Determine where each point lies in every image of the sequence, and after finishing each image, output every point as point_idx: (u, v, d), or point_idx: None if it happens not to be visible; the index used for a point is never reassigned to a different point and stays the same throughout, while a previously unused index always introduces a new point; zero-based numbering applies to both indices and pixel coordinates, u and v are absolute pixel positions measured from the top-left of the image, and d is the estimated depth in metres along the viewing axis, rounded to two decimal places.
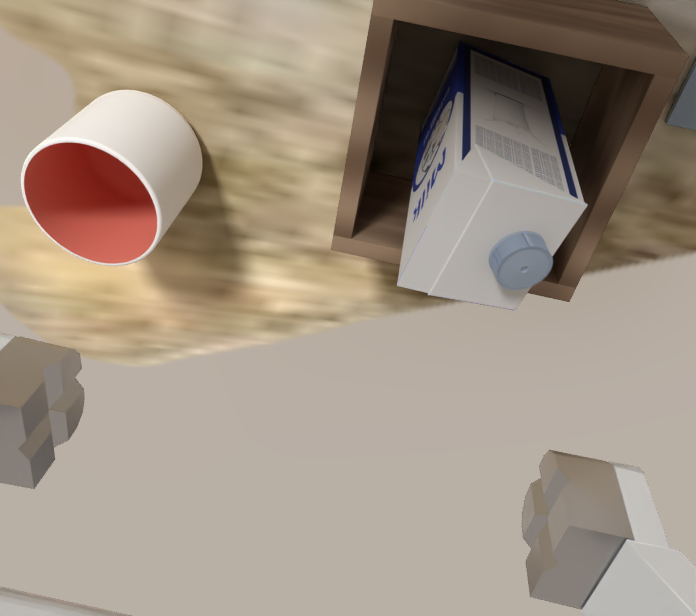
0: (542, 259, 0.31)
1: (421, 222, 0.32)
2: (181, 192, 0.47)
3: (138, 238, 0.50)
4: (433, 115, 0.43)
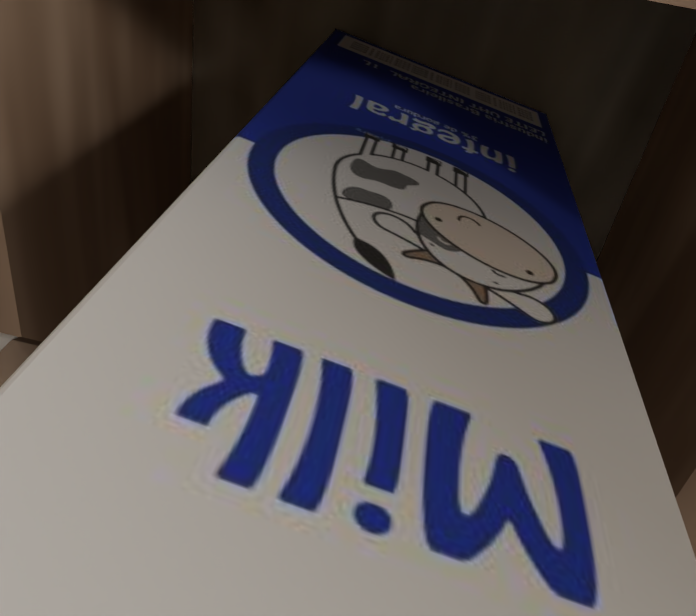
0: None
1: None
2: None
3: None
4: (416, 104, 0.16)
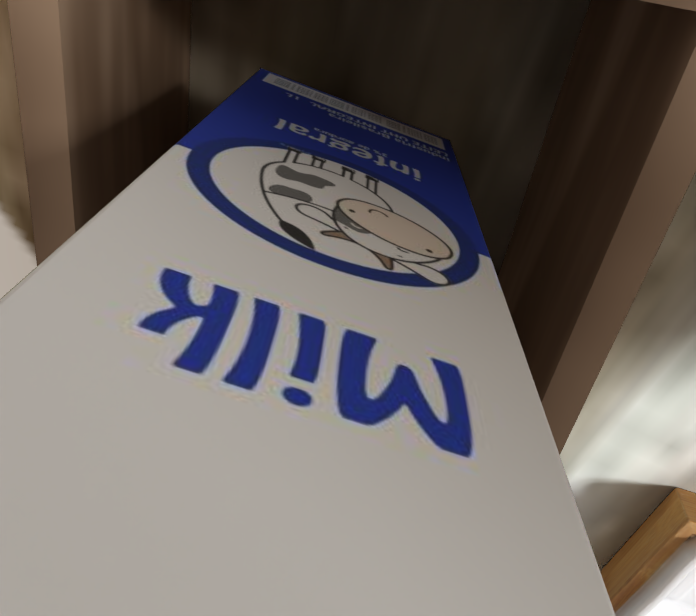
0: None
1: (220, 515, 0.05)
2: None
3: None
4: (333, 127, 0.18)
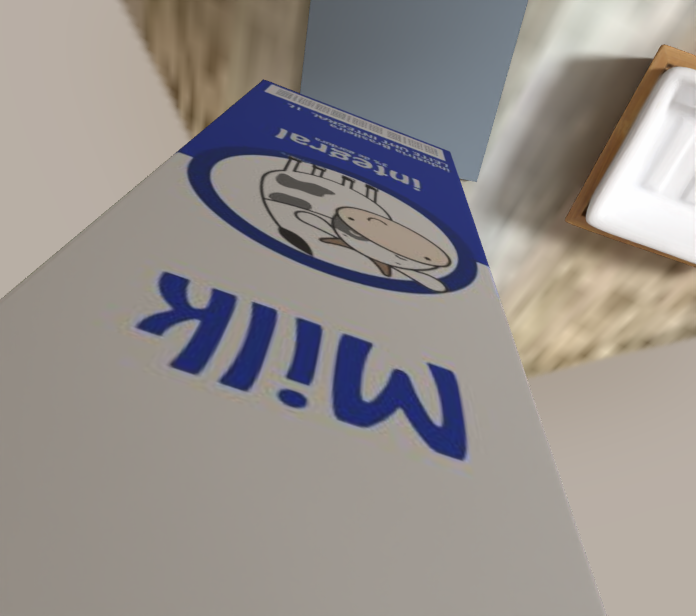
0: None
1: (213, 512, 0.05)
2: None
3: None
4: (334, 137, 0.18)
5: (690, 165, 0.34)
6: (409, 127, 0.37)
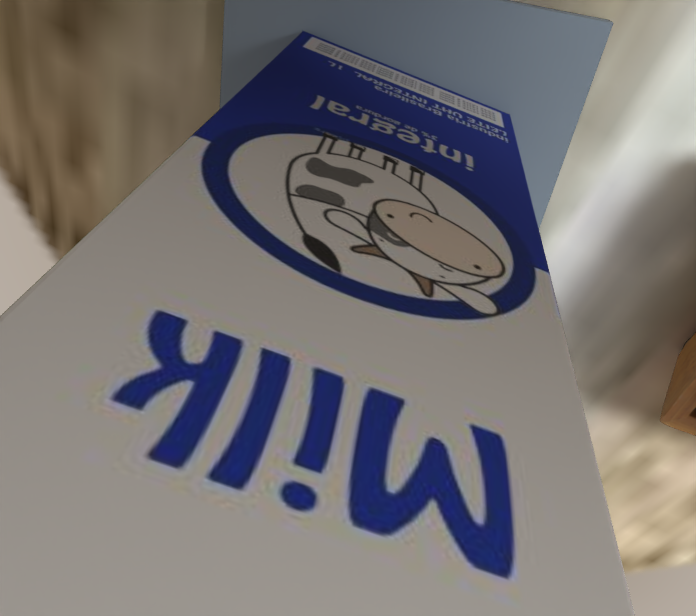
0: None
1: None
2: None
3: None
4: (378, 104, 0.16)
5: None
6: None
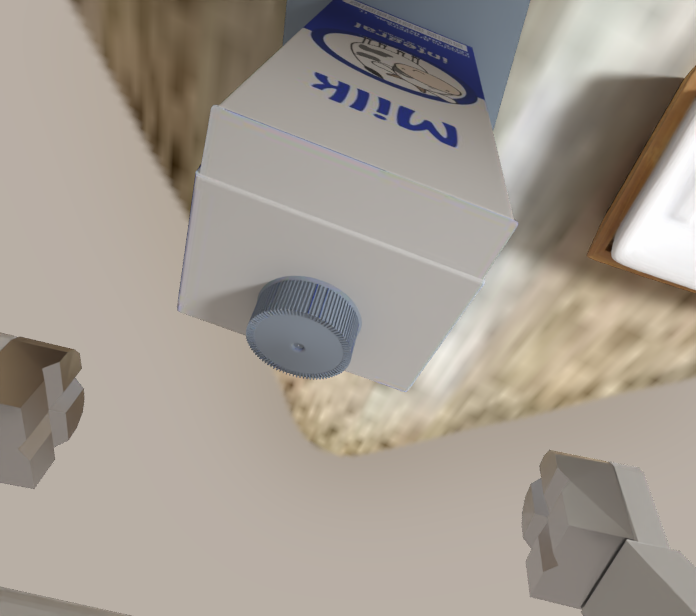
0: (319, 367, 0.17)
1: (355, 132, 0.15)
2: None
3: None
4: (390, 30, 0.27)
5: None
6: None
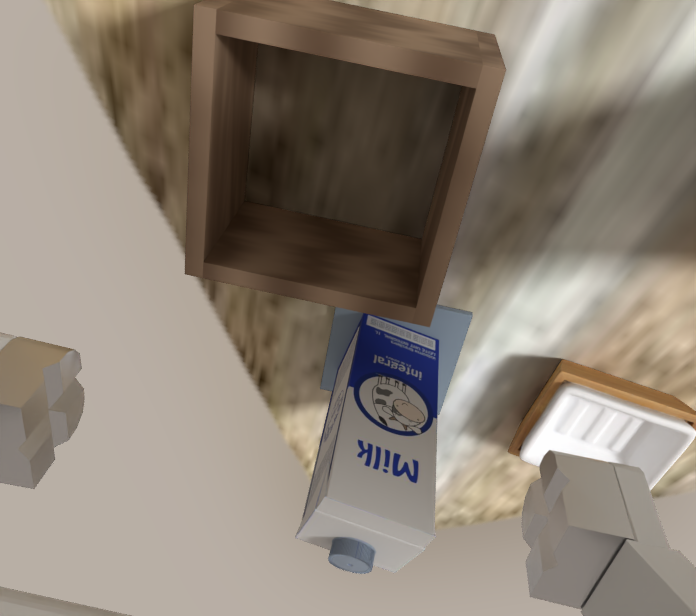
0: (358, 570, 0.41)
1: (375, 492, 0.38)
2: None
3: None
4: (392, 352, 0.50)
5: (585, 422, 0.55)
6: None
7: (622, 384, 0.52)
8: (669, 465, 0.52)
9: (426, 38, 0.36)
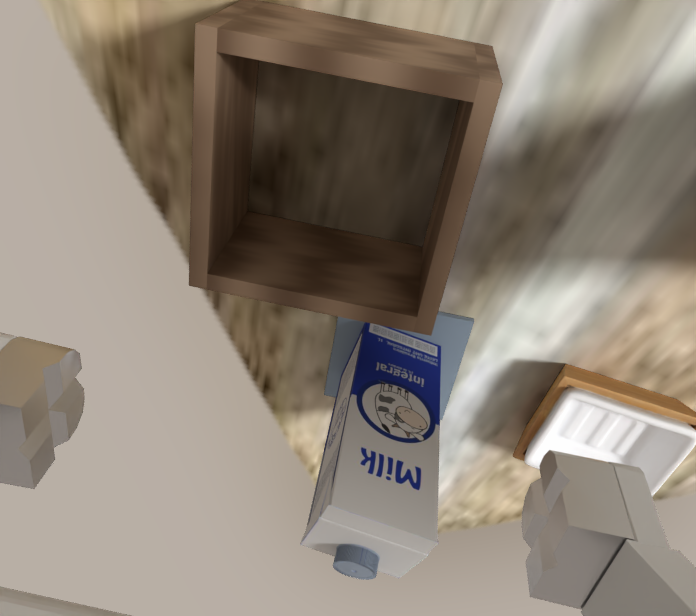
0: (362, 576, 0.41)
1: (379, 499, 0.39)
2: None
3: None
4: (395, 359, 0.51)
5: (589, 426, 0.55)
6: None
7: (625, 388, 0.53)
8: (673, 468, 0.53)
9: (424, 52, 0.37)
